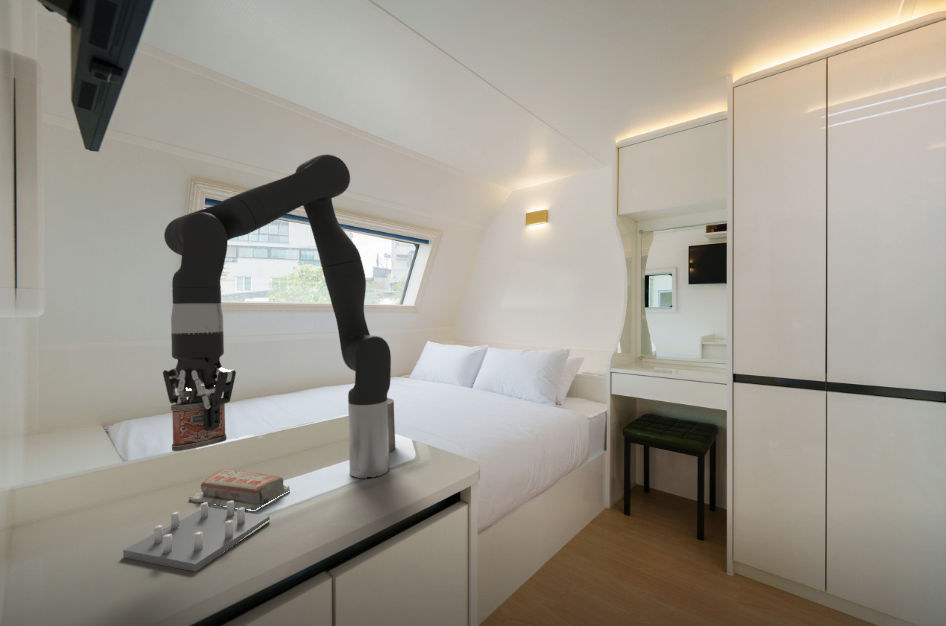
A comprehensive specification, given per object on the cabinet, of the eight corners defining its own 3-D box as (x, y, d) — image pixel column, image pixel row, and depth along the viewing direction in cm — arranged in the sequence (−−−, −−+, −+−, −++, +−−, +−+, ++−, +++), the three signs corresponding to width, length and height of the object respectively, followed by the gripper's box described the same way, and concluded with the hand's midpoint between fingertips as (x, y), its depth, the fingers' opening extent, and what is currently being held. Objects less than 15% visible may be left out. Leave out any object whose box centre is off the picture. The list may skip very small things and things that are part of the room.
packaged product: (291, 471, 90) (254, 490, 81) (292, 493, 91) (255, 515, 81) (228, 463, 96) (187, 480, 87) (229, 483, 96) (187, 503, 87)
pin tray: (206, 513, 81) (206, 494, 81) (269, 522, 77) (269, 502, 77) (123, 557, 67) (123, 534, 67) (195, 571, 63) (195, 547, 63)
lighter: (174, 452, 68) (173, 391, 68) (169, 448, 70) (168, 389, 70) (229, 440, 74) (228, 384, 74) (223, 437, 76) (221, 382, 76)
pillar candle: (374, 442, 124) (372, 392, 123) (402, 445, 120) (400, 394, 120) (352, 453, 115) (351, 399, 114) (382, 457, 111) (380, 401, 111)
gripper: (248, 329, 73) (250, 425, 73) (186, 329, 77) (188, 420, 77) (211, 331, 66) (213, 437, 66) (144, 331, 70) (147, 432, 70)
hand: (200, 428), depth 72 cm, fingers closed on lighter, 4 cm apart
